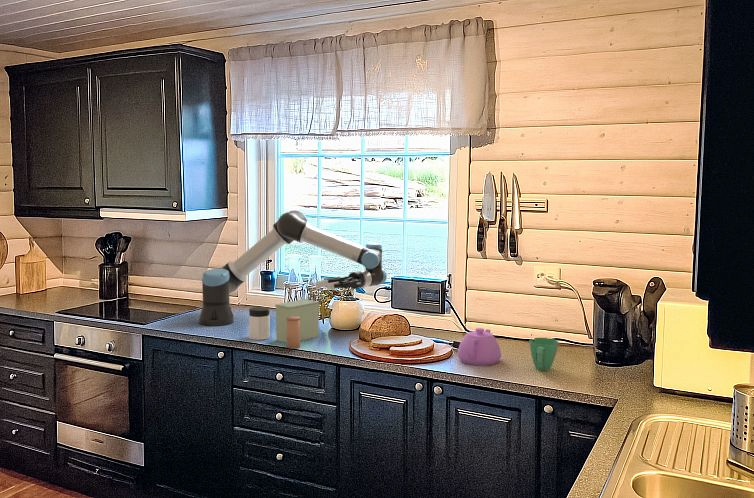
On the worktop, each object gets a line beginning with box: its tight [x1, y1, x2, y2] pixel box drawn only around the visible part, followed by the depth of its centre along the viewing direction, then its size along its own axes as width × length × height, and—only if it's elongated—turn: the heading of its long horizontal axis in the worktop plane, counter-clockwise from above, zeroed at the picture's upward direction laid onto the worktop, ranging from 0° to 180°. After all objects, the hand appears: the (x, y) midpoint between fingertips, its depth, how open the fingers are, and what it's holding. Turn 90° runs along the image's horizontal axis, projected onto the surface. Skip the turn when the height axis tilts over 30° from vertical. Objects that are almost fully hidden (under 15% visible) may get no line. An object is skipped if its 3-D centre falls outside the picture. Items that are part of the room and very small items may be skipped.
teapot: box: [457, 327, 502, 367], centre depth 252 cm, size 22×16×12 cm
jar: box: [248, 306, 271, 341], centre depth 283 cm, size 9×8×12 cm
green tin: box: [275, 298, 320, 343], centre depth 283 cm, size 8×16×15 cm, turn 139°
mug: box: [529, 337, 559, 371], centre depth 240 cm, size 15×10×10 cm
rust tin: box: [286, 316, 301, 350], centre depth 268 cm, size 5×5×12 cm
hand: (322, 285), depth 292 cm, fingers open, 6 cm apart
